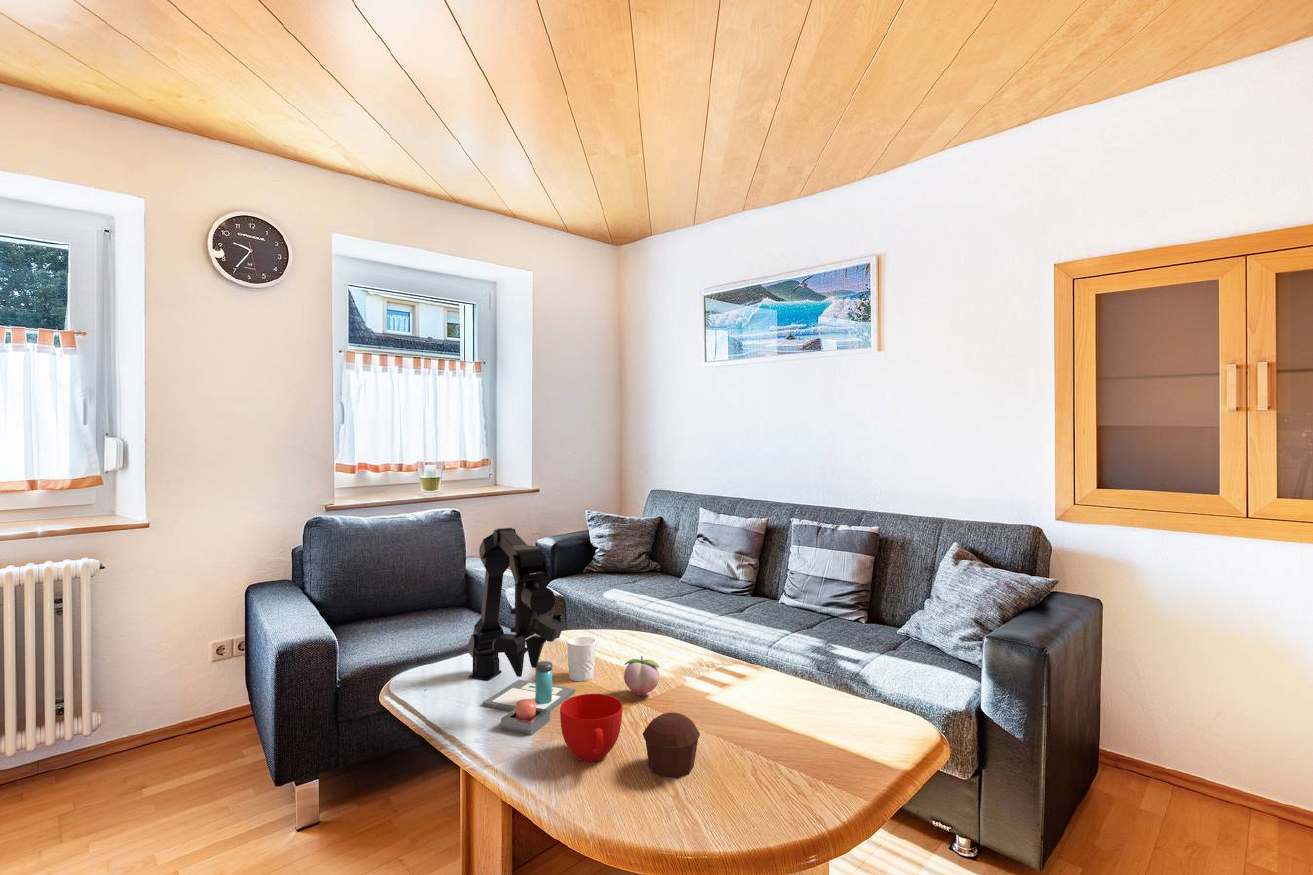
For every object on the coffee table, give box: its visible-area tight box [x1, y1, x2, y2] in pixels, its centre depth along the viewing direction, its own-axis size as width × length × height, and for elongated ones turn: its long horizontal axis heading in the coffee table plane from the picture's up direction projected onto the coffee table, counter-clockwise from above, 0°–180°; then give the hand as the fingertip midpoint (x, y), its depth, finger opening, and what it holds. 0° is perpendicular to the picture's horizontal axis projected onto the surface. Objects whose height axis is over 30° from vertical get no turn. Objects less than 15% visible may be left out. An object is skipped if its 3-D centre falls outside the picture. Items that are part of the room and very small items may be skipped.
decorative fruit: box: [623, 655, 660, 696], centre depth 163 cm, size 9×8×10 cm
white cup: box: [566, 635, 597, 682], centre depth 174 cm, size 8×8×10 cm
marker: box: [534, 660, 553, 704], centre depth 156 cm, size 4×4×9 cm
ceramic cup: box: [559, 693, 624, 763], centre depth 130 cm, size 13×17×10 cm
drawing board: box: [482, 679, 576, 712], centre depth 159 cm, size 17×16×1 cm
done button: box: [516, 699, 536, 721], centre depth 145 cm, size 4×4×4 cm
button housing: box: [500, 708, 551, 736], centre depth 145 cm, size 8×8×2 cm
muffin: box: [642, 712, 701, 779], centre depth 127 cm, size 12×11×10 cm
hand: (526, 671), depth 145 cm, fingers open, 6 cm apart
